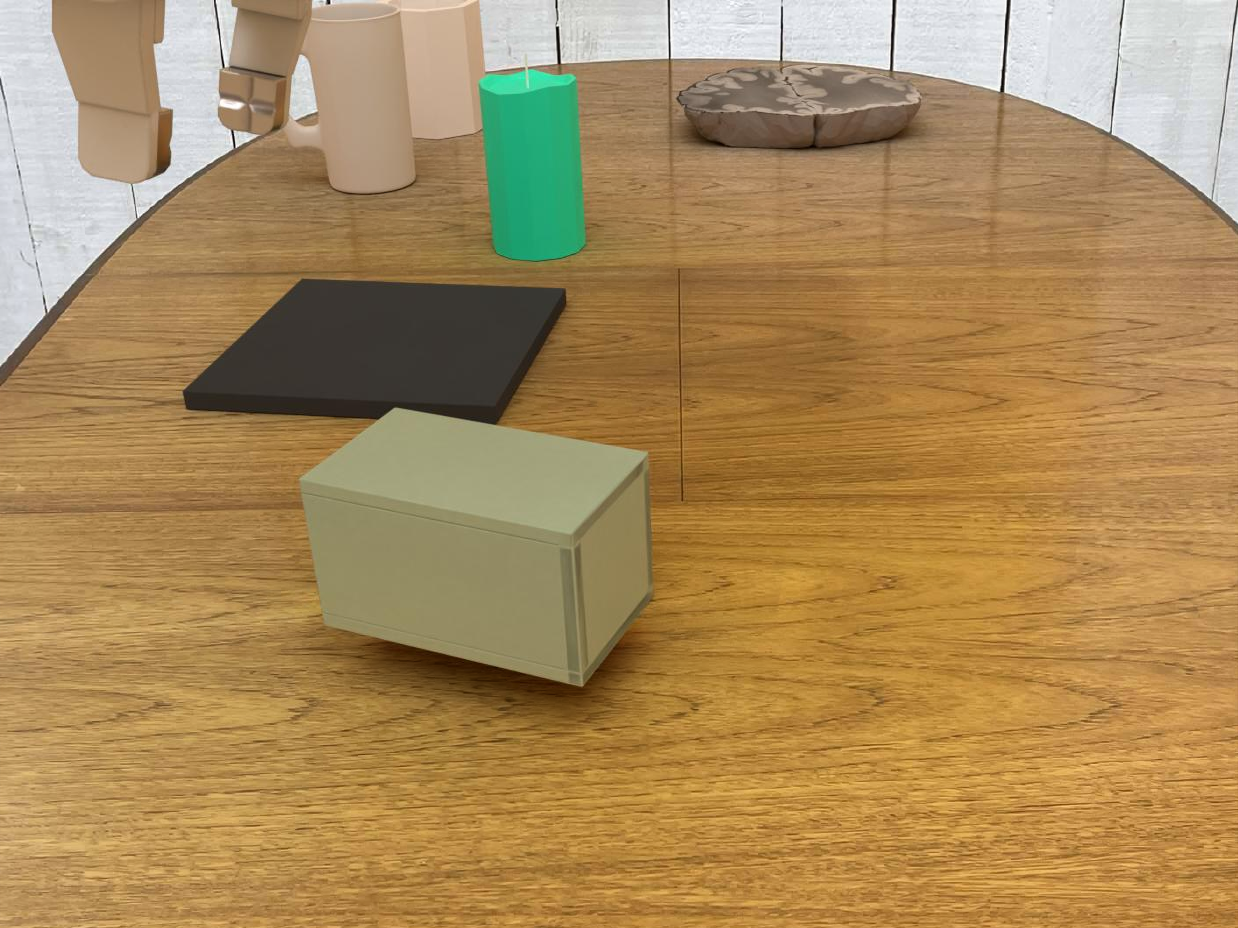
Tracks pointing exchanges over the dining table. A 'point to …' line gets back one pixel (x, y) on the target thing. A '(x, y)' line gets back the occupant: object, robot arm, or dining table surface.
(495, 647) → the green box
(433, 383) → the mat
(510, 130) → the candle
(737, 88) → the brain slice
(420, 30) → the mug
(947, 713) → the dining table surface
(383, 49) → the mug
